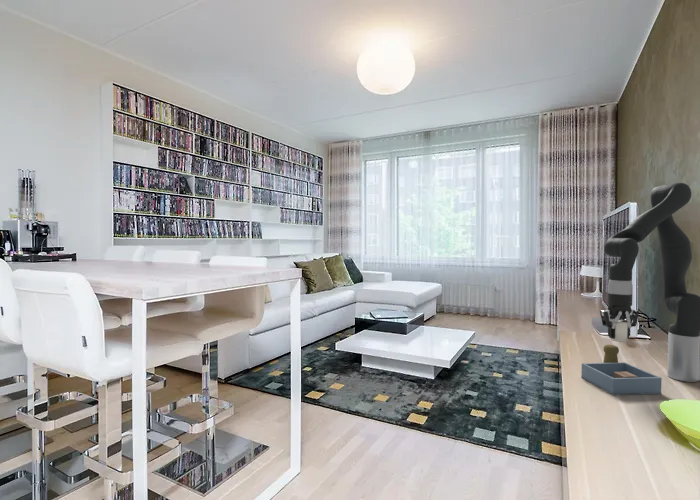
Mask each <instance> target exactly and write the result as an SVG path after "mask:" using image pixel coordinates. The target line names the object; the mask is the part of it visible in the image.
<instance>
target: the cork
mask: <svg viewBox="0 0 700 500" xmlns="http://www.w3.org/2000/svg"><path fill="white" fill-rule="evenodd" d="M603 352H604V356H603V362H602V363H619V358H618V354H619V353H620V349H619V347H618V346H617V345H614V344H605V345H604V346H603Z"/></svg>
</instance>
